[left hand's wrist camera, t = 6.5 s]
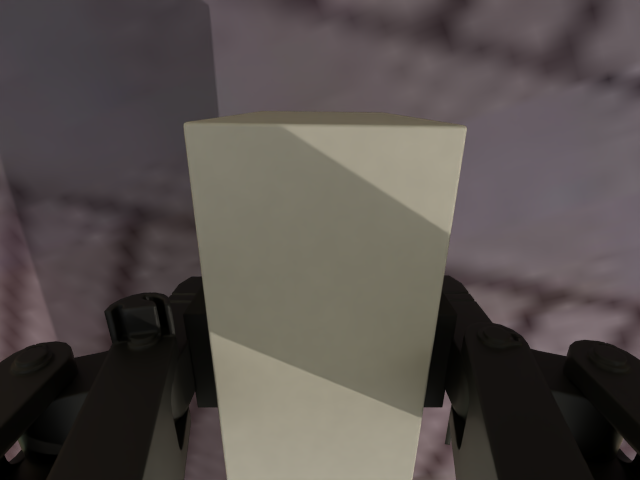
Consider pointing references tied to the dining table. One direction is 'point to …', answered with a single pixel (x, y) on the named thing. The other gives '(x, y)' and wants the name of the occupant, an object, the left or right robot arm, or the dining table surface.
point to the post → (322, 284)
